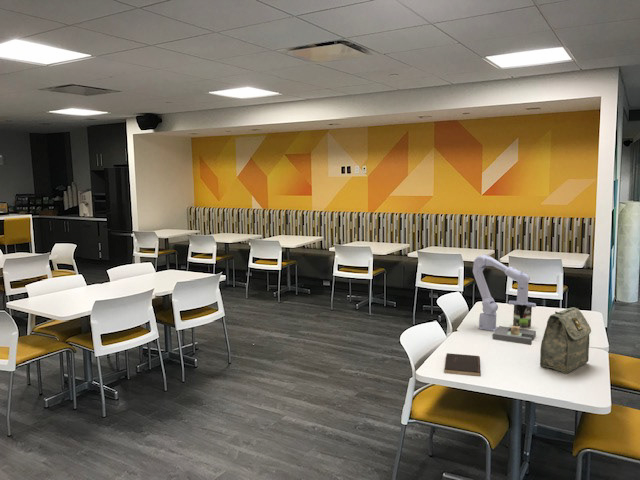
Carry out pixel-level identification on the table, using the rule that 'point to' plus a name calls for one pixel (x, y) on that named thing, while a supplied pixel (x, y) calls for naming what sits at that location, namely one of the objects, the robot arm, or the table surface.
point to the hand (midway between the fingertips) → (521, 317)
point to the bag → (565, 341)
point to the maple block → (515, 330)
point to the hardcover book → (462, 364)
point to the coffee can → (522, 322)
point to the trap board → (506, 335)
